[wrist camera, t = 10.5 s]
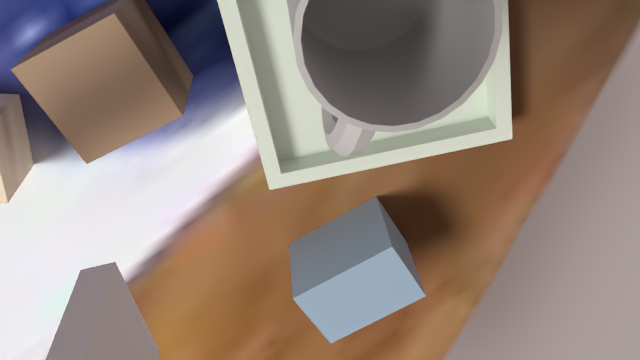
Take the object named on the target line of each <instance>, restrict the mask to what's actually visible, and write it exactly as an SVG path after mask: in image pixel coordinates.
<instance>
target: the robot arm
mask: <svg viewBox="0 0 640 360" xmlns="http://www.w3.org/2000/svg"><path fill="white" fill-rule="evenodd" d="M158 355H159V349H158V347H157V345H156V343H155V341H154V339H153V337H152V335H151V333H150V331H149V329H148V327H147V325H146V323H145V321H144V319H143V317H142V315H141V313H140V311H139V309H138V307H137V305H136V303H135V301H134V299H133V297H132V295H131V293H130V291H129V289H128V287H127V285H126V283H125V281H124V279H123V277H122V275H121V273H120V271H119V269H118V267H117V265H116V263H115V262H114V263H109V264H105V265H101V266H96V267H92V268H87V269H83V270H81V271H80V273H79V276H78V279H77V281H76V284H75V286H74V289H73V291H72V294H71V296H70V299H69V302H68V304H67V307H66V309H65V312H64V314H63V317H62V319H61V322H60V325H59V327H58V330H57V332H56V335H55V337H54V340H53V342H52V345H51V348H50V350H49V353H48V355H47V358H46V360H158Z"/></svg>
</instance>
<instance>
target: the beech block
mask: <svg viewBox="0 0 640 360" xmlns="http://www.w3.org/2000/svg"><path fill="white" fill-rule="evenodd" d="M33 165H34V162H33V157H32V153H31V148H30V143H29V138H28V134H27V129H26V124H25V119H24V115H23V110H22V105H21V100H20V96H19V94H0V203H8V202H9V201H10V199H11V198H12V196H13V195H14V193H15V192H16V190H17V189H18V187H19V186H20V184H21V183H22V181H23V180H24V178H25V177H26V175H27V174H28V172H29V171H30V170H31V168H32V167H33Z"/></svg>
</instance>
